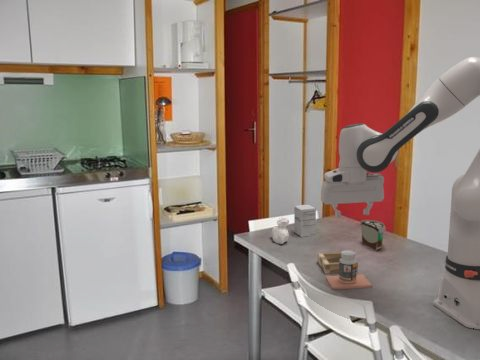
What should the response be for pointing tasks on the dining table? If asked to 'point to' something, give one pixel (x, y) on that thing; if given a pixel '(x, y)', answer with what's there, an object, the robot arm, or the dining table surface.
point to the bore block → (330, 262)
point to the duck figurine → (280, 231)
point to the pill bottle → (347, 267)
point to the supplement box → (305, 220)
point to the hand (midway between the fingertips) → (352, 215)
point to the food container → (372, 234)
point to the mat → (337, 284)
